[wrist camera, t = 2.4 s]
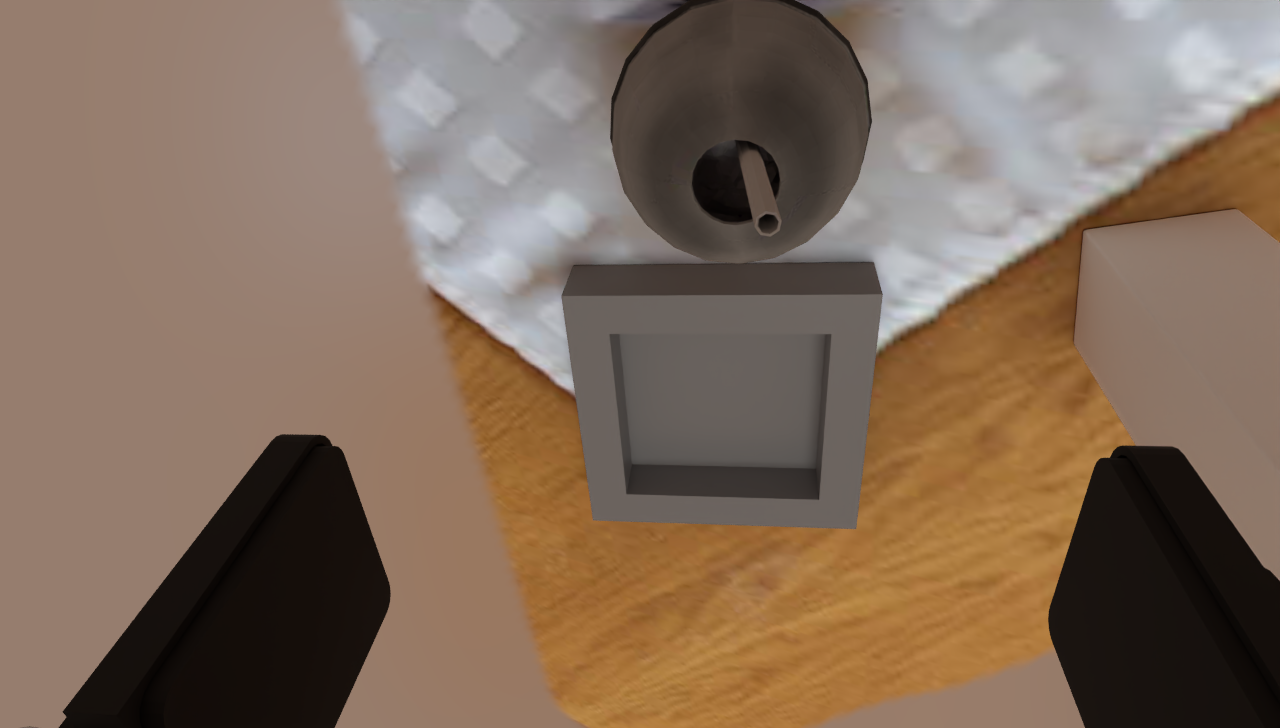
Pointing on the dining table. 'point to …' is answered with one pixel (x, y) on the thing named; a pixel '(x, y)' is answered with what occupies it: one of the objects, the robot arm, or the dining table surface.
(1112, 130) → the dining table surface
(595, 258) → the dining table surface
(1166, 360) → the milk
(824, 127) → the beverage cup
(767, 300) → the tray
